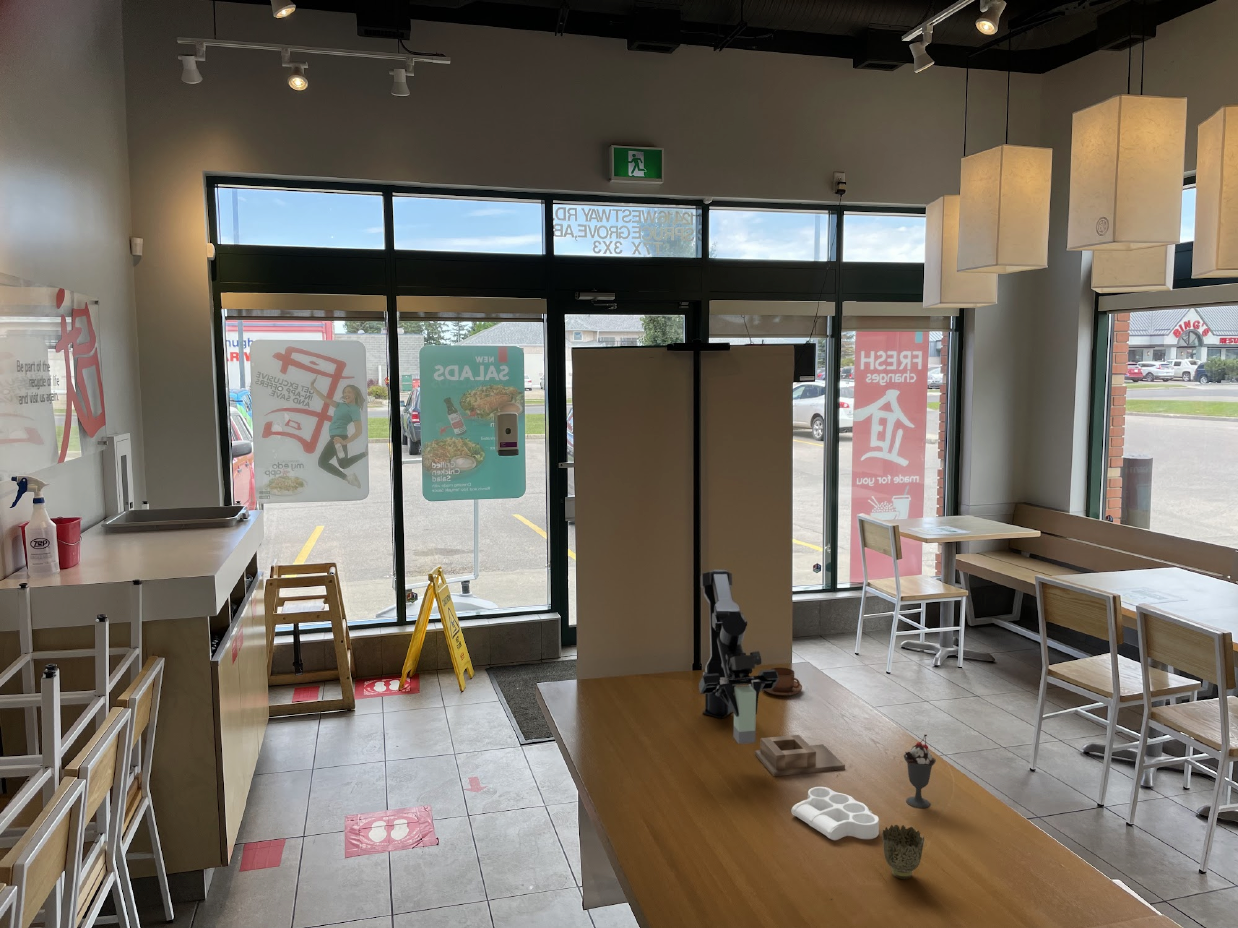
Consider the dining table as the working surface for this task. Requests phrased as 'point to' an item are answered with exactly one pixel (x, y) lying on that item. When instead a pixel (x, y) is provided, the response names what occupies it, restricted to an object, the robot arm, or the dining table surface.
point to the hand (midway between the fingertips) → (746, 715)
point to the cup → (902, 850)
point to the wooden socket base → (795, 756)
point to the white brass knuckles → (836, 815)
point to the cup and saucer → (785, 683)
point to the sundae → (919, 772)
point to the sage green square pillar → (745, 714)
